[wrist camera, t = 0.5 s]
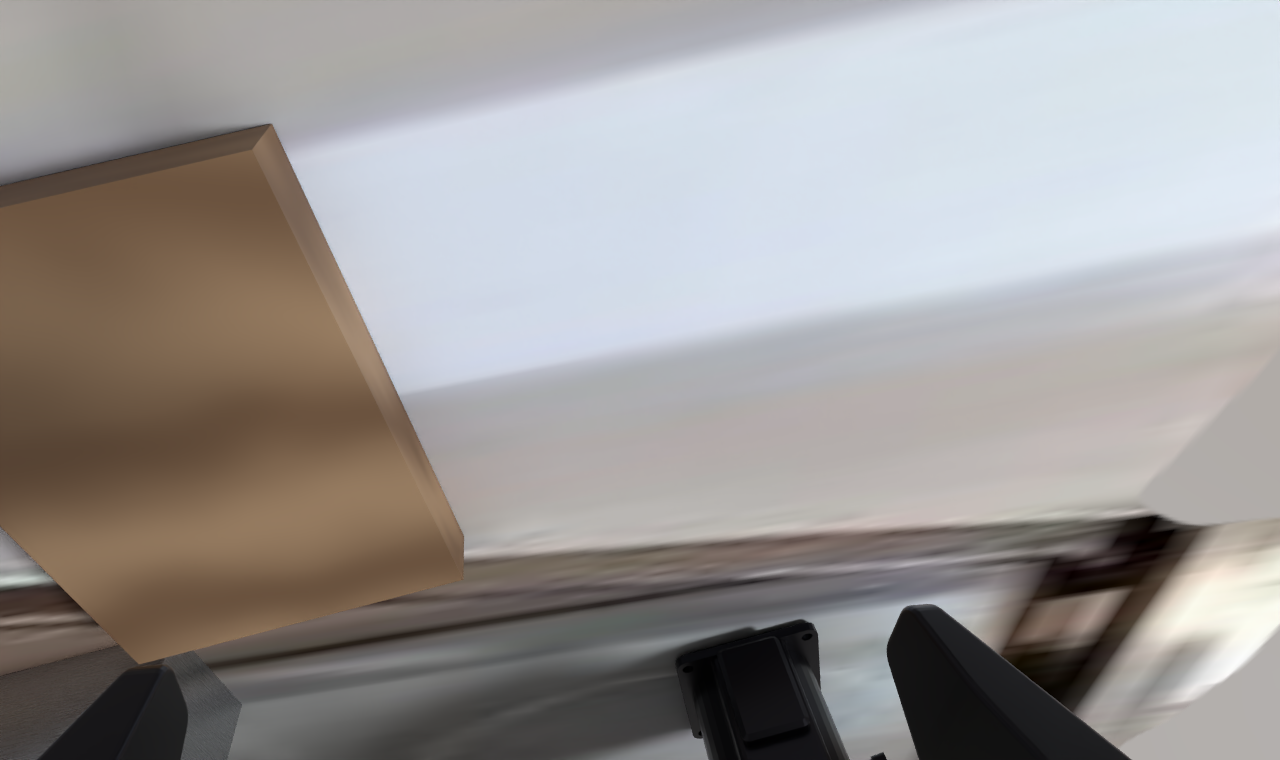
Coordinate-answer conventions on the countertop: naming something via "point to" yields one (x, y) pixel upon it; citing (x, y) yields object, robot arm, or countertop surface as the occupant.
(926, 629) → the robot arm
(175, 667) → the block
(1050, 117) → the countertop surface
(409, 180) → the countertop surface
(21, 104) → the countertop surface
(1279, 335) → the countertop surface
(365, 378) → the stand
